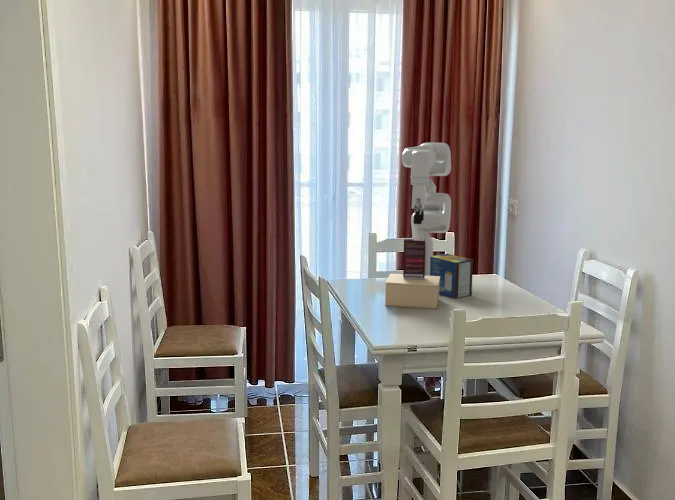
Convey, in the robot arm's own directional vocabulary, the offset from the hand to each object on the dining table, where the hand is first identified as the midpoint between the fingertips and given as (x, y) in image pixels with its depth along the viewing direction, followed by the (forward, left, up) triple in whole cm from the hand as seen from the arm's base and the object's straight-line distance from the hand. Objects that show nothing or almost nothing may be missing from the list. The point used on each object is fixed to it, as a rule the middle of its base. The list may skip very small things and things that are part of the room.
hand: (418, 222), depth 283 cm
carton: (+16, 0, -30) cm, 34 cm away
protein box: (-3, +14, -31) cm, 34 cm away
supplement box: (+15, 0, -21) cm, 25 cm away
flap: (+16, 0, -21) cm, 27 cm away
